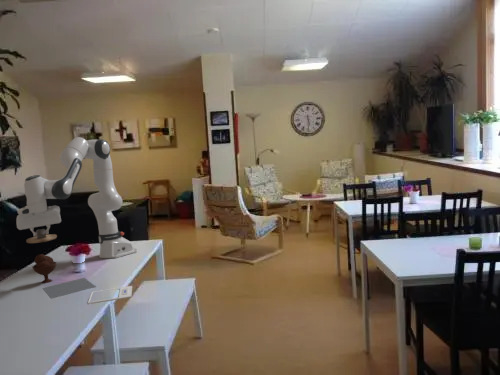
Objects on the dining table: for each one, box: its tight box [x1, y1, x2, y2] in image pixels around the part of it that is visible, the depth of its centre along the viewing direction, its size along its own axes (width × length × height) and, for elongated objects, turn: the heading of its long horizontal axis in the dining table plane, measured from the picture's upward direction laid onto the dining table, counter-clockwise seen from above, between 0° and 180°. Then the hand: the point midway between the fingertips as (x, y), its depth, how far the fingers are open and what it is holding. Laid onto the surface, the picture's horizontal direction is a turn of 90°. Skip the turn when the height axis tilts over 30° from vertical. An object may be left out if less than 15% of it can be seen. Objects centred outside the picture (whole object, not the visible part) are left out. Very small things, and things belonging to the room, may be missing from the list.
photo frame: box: [87, 285, 133, 305], centre depth 196 cm, size 15×1×18 cm
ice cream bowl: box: [32, 253, 57, 284], centre depth 222 cm, size 11×11×15 cm
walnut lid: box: [25, 228, 58, 244], centre depth 220 cm, size 14×14×5 cm
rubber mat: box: [42, 277, 97, 299], centre depth 210 cm, size 20×20×1 cm
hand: (41, 235), depth 220 cm, fingers closed on walnut lid, 4 cm apart
